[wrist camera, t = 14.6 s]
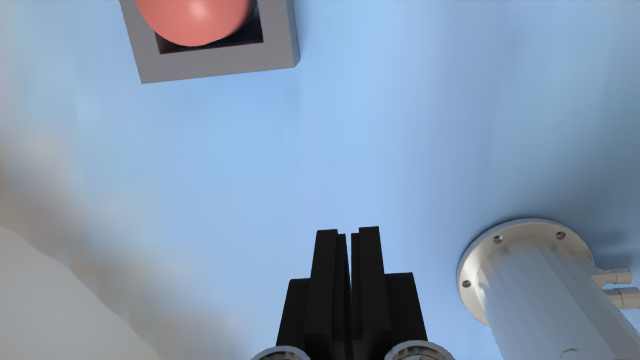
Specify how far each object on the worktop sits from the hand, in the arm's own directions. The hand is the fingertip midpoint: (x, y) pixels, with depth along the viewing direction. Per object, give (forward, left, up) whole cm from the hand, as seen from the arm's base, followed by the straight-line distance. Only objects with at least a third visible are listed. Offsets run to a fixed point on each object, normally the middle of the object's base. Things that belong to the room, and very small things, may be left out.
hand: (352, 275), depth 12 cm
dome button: (+10, -9, -26) cm, 29 cm away
